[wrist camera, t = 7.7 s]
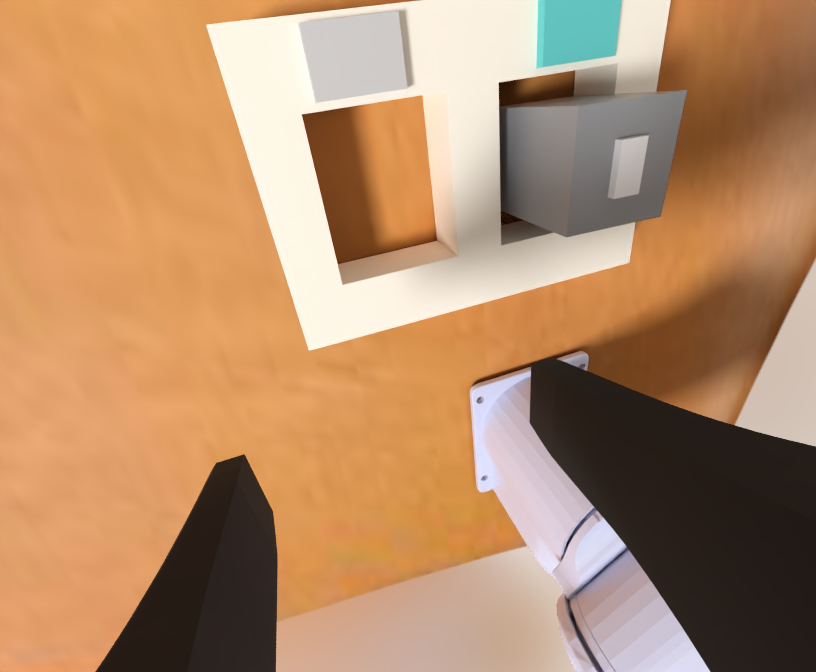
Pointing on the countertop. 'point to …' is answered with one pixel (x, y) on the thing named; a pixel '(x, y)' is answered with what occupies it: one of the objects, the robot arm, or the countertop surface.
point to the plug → (588, 159)
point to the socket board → (446, 138)
